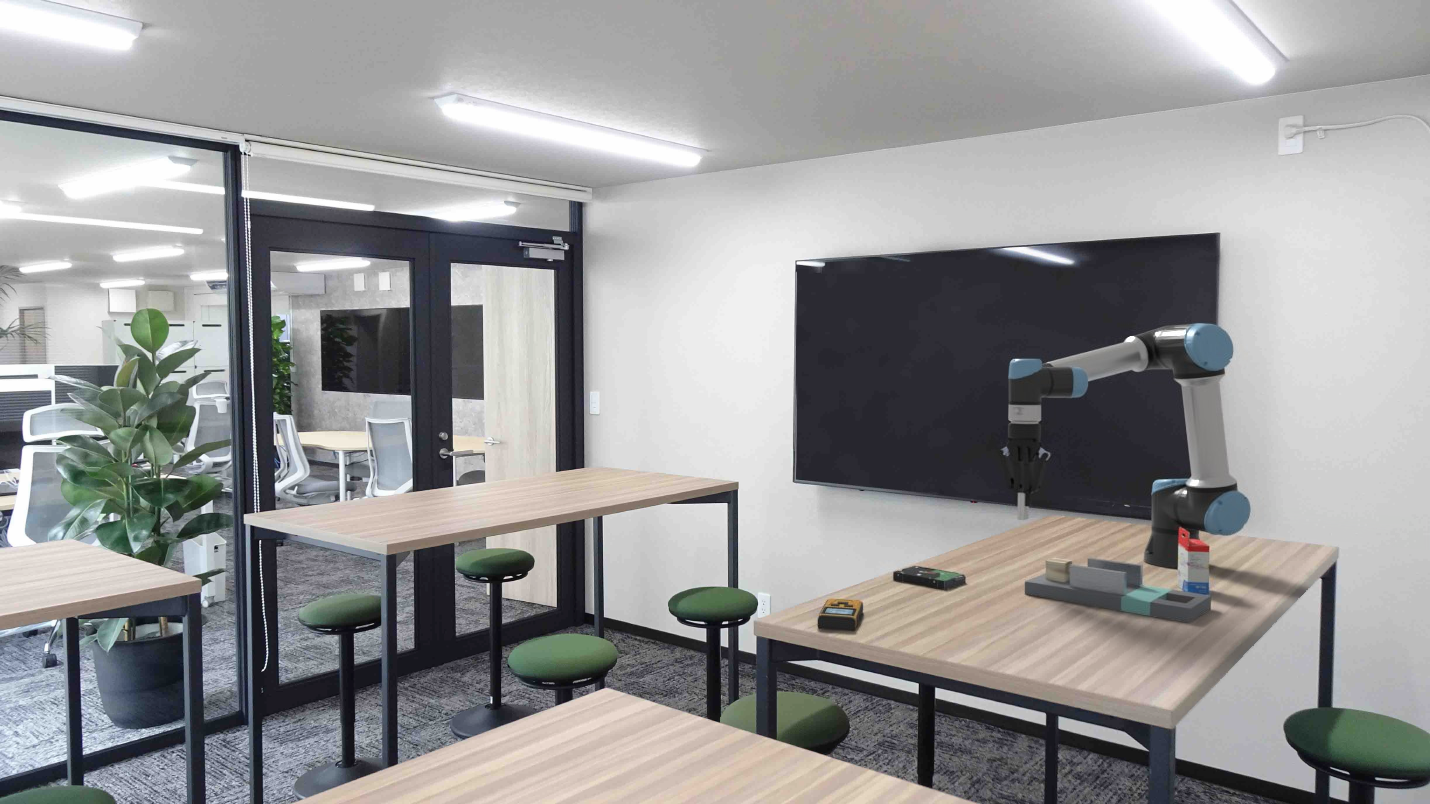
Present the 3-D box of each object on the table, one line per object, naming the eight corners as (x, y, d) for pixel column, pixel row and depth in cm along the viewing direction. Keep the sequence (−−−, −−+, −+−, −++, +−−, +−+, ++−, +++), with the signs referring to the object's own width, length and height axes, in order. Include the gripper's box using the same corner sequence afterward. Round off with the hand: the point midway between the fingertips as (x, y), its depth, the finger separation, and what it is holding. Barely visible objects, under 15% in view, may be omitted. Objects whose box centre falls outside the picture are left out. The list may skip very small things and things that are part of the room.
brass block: (1053, 576, 224) (1053, 557, 223) (1072, 579, 220) (1072, 560, 220) (1045, 579, 220) (1045, 560, 220) (1064, 582, 217) (1064, 563, 217)
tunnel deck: (1051, 582, 229) (1051, 550, 229) (1210, 609, 205) (1211, 573, 205) (1024, 593, 218) (1025, 560, 218) (1190, 622, 194) (1190, 584, 194)
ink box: (1209, 595, 217) (1211, 533, 216) (1186, 594, 218) (1188, 532, 217) (1198, 587, 225) (1199, 526, 225) (1176, 586, 226) (1177, 526, 226)
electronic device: (864, 614, 203) (864, 599, 203) (856, 633, 188) (857, 617, 188) (826, 611, 205) (826, 596, 205) (815, 630, 190) (815, 613, 190)
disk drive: (892, 582, 233) (945, 591, 222) (892, 571, 232) (945, 580, 222) (914, 575, 240) (966, 584, 230) (913, 565, 240) (966, 573, 230)
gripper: (992, 421, 227) (990, 518, 228) (1044, 424, 218) (1042, 524, 219) (1005, 420, 232) (1004, 514, 233) (1057, 422, 223) (1055, 520, 224)
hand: (1023, 519), depth 226 cm, fingers closed
